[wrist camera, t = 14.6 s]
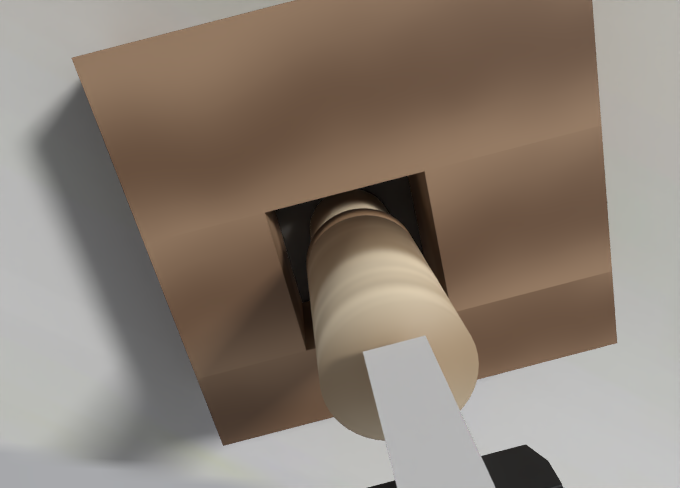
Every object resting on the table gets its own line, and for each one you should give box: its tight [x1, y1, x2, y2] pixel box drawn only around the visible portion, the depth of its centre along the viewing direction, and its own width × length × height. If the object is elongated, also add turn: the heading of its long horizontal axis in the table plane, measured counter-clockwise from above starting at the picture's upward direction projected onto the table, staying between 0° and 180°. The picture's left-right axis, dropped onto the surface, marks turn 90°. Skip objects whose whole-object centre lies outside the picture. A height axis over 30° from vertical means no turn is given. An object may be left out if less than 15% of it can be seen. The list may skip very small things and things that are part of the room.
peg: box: [306, 189, 479, 441], centre depth 20 cm, size 4×4×11 cm
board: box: [72, 0, 617, 446], centre depth 23 cm, size 15×16×4 cm
